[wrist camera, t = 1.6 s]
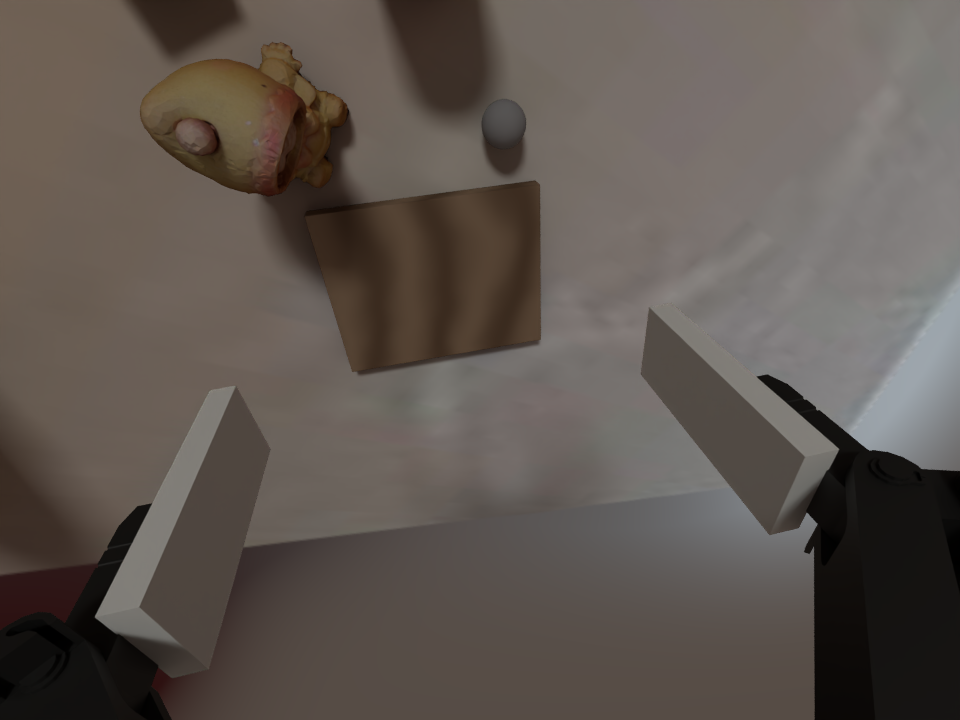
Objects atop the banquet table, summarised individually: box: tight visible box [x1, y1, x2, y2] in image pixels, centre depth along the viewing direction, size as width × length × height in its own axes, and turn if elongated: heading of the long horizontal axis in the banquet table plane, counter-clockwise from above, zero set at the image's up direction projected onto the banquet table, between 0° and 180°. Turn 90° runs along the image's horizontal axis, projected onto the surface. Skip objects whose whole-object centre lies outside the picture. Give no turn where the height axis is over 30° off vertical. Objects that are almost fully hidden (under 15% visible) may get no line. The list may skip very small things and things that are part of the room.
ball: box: [482, 99, 526, 149], centre depth 36 cm, size 4×4×4 cm
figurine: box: [140, 42, 349, 196], centre depth 29 cm, size 10×8×15 cm
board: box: [304, 181, 541, 372], centre depth 43 cm, size 20×16×2 cm
